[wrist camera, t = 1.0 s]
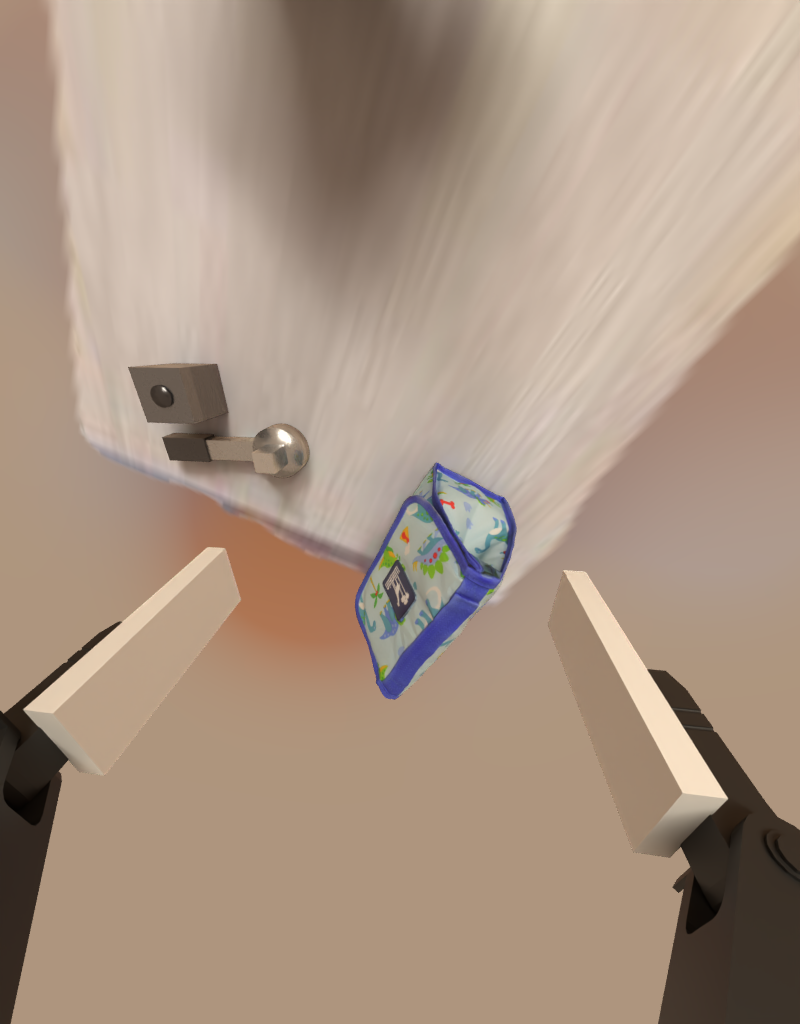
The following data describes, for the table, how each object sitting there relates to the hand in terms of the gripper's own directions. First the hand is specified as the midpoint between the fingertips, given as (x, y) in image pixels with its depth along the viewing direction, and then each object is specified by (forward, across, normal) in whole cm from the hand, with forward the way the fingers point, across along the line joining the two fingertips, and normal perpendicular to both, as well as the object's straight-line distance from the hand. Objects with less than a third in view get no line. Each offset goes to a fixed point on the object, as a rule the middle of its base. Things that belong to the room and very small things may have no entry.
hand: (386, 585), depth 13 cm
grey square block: (+40, -35, +2) cm, 53 cm away
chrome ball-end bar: (+39, -30, -7) cm, 50 cm away
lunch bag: (+40, +2, -20) cm, 45 cm away
